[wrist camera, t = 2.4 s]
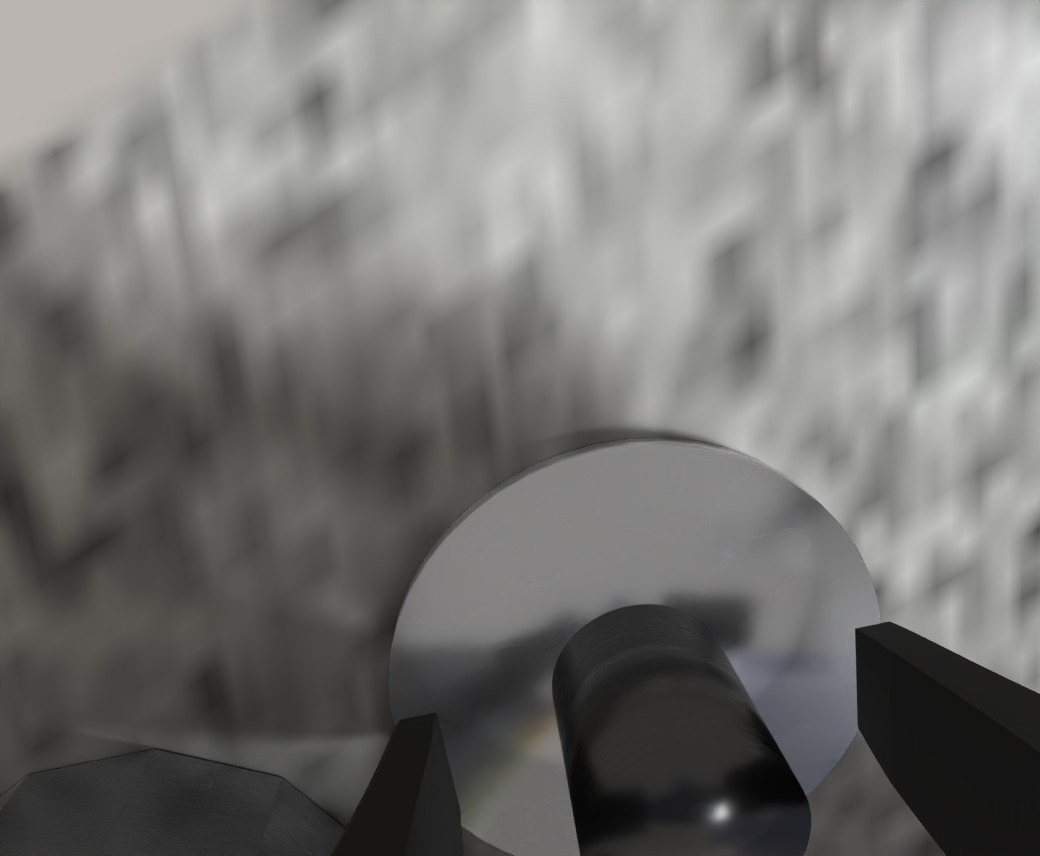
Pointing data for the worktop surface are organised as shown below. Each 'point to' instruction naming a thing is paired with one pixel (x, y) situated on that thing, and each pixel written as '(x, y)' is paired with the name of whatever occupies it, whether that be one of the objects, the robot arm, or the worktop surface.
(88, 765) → the pot
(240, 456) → the worktop surface
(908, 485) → the worktop surface
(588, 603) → the lid
